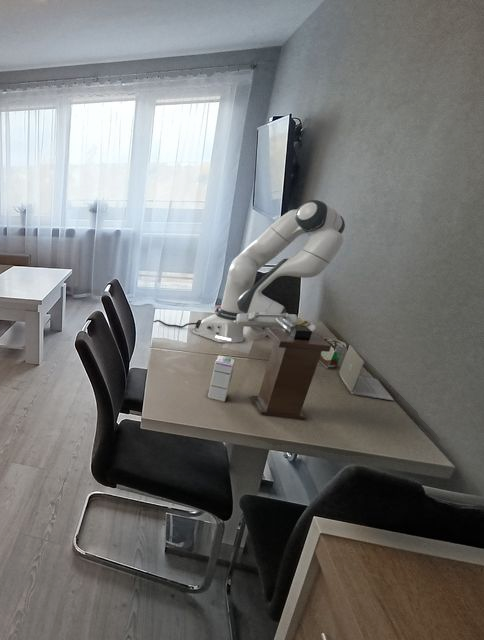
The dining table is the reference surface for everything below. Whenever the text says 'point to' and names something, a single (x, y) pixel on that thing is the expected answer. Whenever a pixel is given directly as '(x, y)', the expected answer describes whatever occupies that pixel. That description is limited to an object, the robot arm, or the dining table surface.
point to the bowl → (305, 324)
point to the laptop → (360, 377)
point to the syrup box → (221, 378)
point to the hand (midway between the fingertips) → (270, 314)
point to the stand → (288, 374)
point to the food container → (332, 353)
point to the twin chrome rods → (295, 330)
